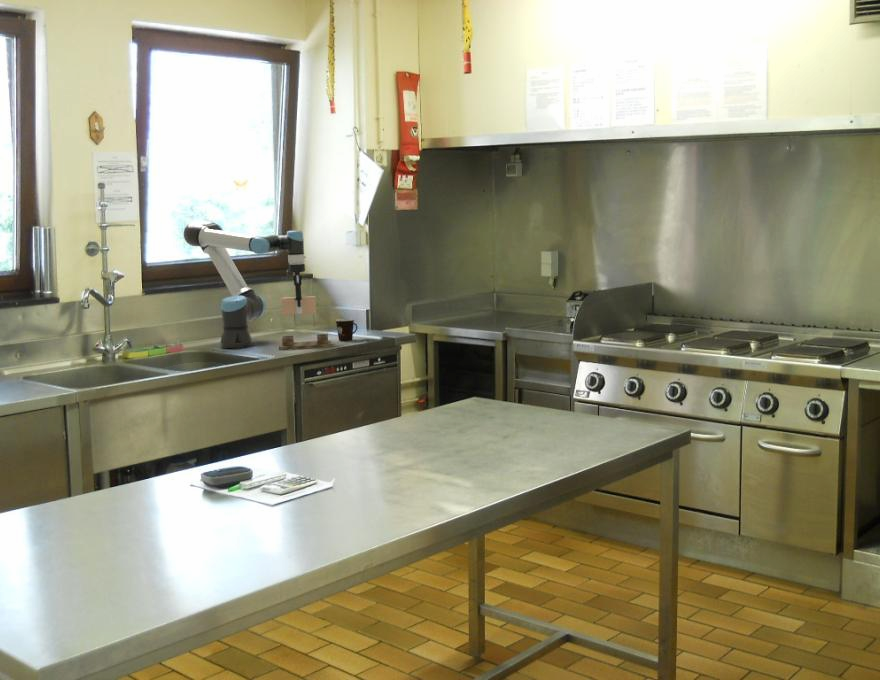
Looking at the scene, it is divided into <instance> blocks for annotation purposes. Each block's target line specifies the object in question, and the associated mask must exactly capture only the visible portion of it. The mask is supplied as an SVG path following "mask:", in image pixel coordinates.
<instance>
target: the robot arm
mask: <svg viewBox="0 0 880 680" xmlns="http://www.w3.org/2000/svg"><path fill="white" fill-rule="evenodd" d="M183 239H184V241H185V242H186V243H187V244H188V245H189V246H192V247H200V249H201V251H202V252H203V253H204V254H208V256H209V258H210V260H211V262H212V263H213V265H214V266H215V268H216V270H217V272H218V273H219V275H220V277H221V279H222V281H223V282H224V284H225V286H226V287H227V289H228V291H229V293H230V294H231V296H228V297H225V298H222V301H221V307H220V308H221V317H222V334H221V338H220V342H219V344H220V345H219V346H220V349H226V348H236V349H245V347H246V348H250V347H252V346H253V345H254V343H253V341H254V340H253V338H252V336H251V333H250V331H249V322H251V321H256V320H257V319H260V318H261V317H262V316H264V315H265V312H266V301H265V299H264V298H263V297H262V296H261V295H259V294H256V292H255V290H254V289H253V288H251V287H248V285H247V283H246V281H245V279H244V277H243V276H242V275H241V272H240V271H239V270H238V267H237V266H236V264H235V263H234V261H233V259H232V257H231V256H230V254H229V252H228V250H227V249H232V250H238V251H246V252H253V253H254V254H258V255H265V254H266V253H267V254H268V253H274V252H275V253H276V252H287V259H288V272H289V273H294V275H293V276H292V277H293V285H294V288H295V297H296V299H295V300H296V310H297V315H303V314H302V300H301V299H302V297H303V296H302V289H301V288H302V283H303V282H302V280H303V278H302V275H301V274H300V273H304V272H306V264H305V259H306V255H305V249H304V241H305V240H304V232H303V231H302V230H288V231H287V232H286V234H283V235H281V234H279V235H278V234H277V235H275V234H273V235H272V234H271V235H266V236H259V235H252V234H245V233H239V232H238V233H237V232H231V231H224V230H223V227H222V226H221V224H220V223H218V222H216V221H213V220H204V221H193V222H190V223H189V224H187V225H186V226H185V228H184V230H183Z"/></svg>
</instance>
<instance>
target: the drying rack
mask: <svg viewBox="0 0 880 680" xmlns="http://www.w3.org/2000/svg"><path fill="white" fill-rule="evenodd" d="M328 335H329V334H328V333H318V334H316V340H312V341H294V339H295V338H294V335H282V337H281V338H282V339H281V342H280V343H279V346H278V350H279V351H289V349H291V350H305V349H307V350H309V349H310V348H311V349H324V348H325V349H326V347H330V348H333V344H332V340H329V336H328Z"/></svg>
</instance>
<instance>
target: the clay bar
mask: <svg viewBox="0 0 880 680" xmlns="http://www.w3.org/2000/svg"><path fill="white" fill-rule="evenodd" d="M301 297H302V299H301V300H302V314H301V315H310V314H317V300H316V299H317V298H316V296H315V295H311V296H309V295H307V296H301ZM295 299H296V296H291V297H288V296H287V297H281V299H280V300H281V313H282V316H295V315H298V314H297V310H296V300H295Z"/></svg>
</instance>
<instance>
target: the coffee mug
mask: <svg viewBox="0 0 880 680" xmlns="http://www.w3.org/2000/svg"><path fill="white" fill-rule="evenodd" d="M335 323H336V330H337V336H338V341H339V342H351V341H353V336H354V334H355V333H356V332H357V330H358V325H357V323H356V322H355V318H354V319H353V318H338V319H336V320H335ZM354 326H355V330H354Z"/></svg>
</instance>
